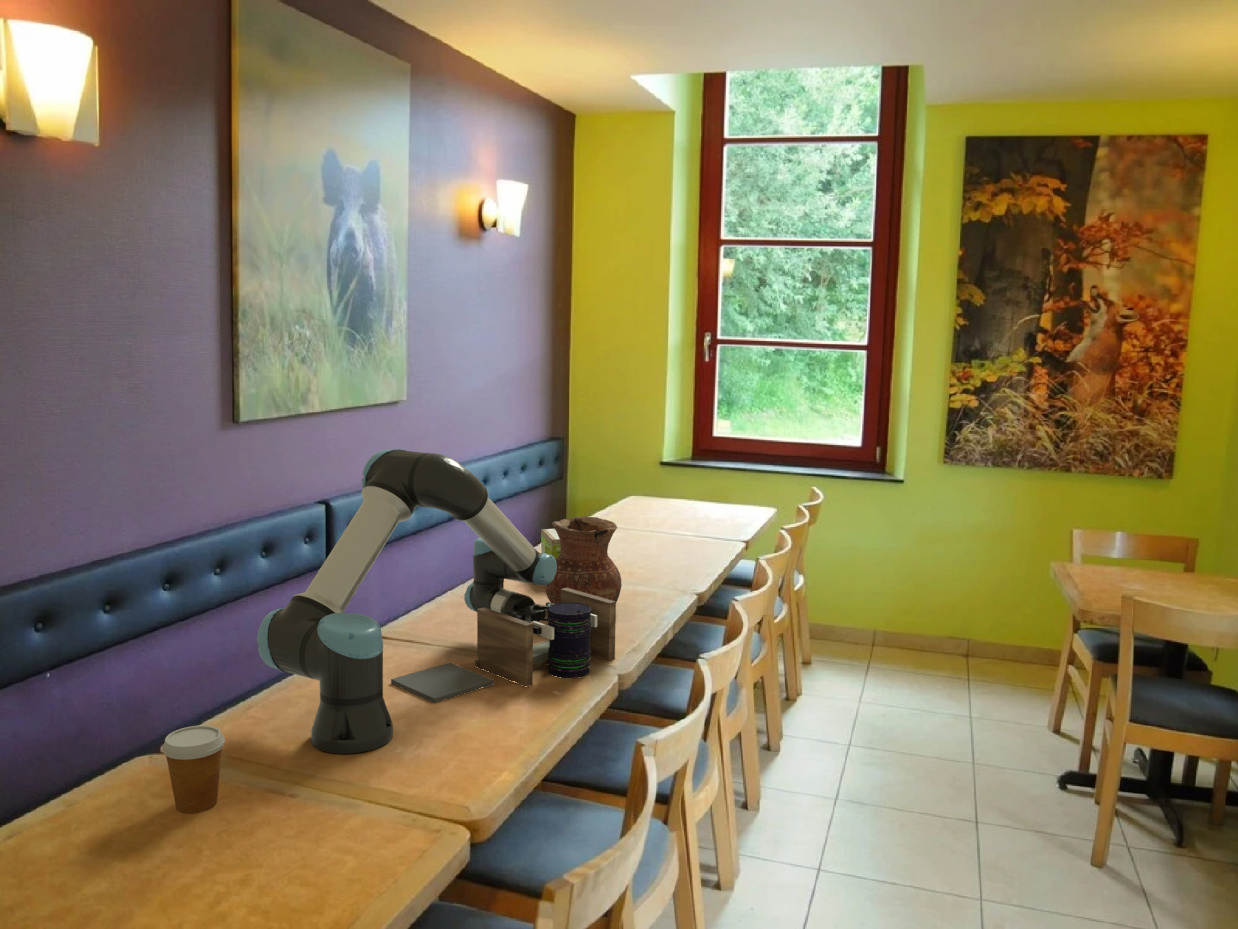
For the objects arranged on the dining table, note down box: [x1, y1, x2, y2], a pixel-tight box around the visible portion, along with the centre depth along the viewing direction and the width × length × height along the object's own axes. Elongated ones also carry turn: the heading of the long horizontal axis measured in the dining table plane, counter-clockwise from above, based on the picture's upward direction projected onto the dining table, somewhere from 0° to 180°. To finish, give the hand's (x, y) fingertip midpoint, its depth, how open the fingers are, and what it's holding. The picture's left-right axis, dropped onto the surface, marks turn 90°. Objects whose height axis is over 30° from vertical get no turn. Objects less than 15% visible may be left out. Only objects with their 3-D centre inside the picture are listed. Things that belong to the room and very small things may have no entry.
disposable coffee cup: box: [161, 725, 226, 814], centre depth 170 cm, size 10×10×12 cm
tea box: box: [540, 528, 561, 559], centre depth 319 cm, size 15×10×15 cm, turn 17°
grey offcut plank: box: [533, 642, 550, 664], centre depth 245 cm, size 11×5×2 cm, turn 139°
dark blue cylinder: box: [547, 602, 592, 679], centre depth 237 cm, size 10×10×15 cm
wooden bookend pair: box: [474, 588, 617, 687], centre depth 242 cm, size 28×18×14 cm, turn 136°
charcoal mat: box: [390, 662, 495, 704], centre depth 228 cm, size 16×16×1 cm
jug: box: [543, 516, 622, 604], centre depth 284 cm, size 22×21×25 cm
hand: (575, 627), depth 236 cm, fingers open, 13 cm apart
